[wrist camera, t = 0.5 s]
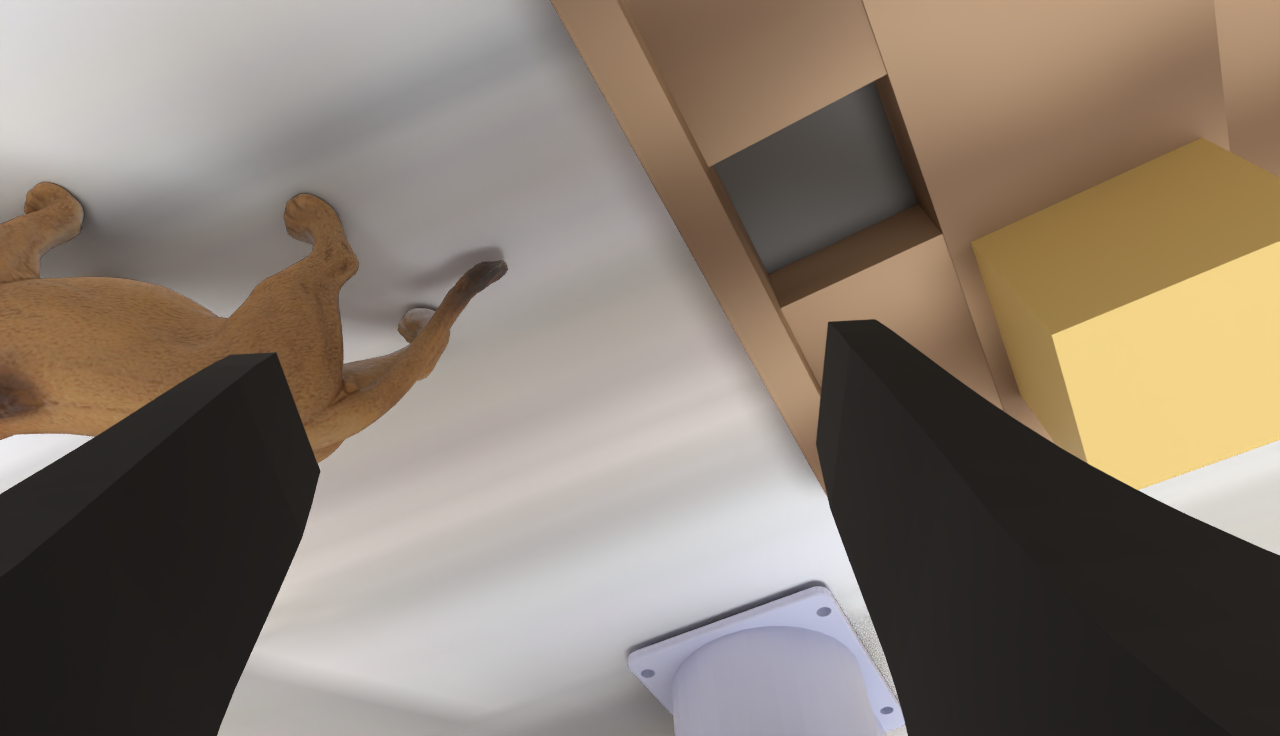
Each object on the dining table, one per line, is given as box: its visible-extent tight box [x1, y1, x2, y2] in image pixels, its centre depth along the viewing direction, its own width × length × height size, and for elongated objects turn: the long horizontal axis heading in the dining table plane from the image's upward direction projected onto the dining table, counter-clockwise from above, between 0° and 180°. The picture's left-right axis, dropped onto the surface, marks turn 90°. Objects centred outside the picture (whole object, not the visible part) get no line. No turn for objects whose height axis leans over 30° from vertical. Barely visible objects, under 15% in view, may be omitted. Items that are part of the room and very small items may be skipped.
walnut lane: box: [550, 0, 1280, 497], centre depth 15 cm, size 23×16×4 cm
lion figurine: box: [0, 182, 508, 463], centre depth 16 cm, size 15×5×9 cm, turn 93°
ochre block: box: [971, 138, 1280, 490], centre depth 17 cm, size 5×5×4 cm
